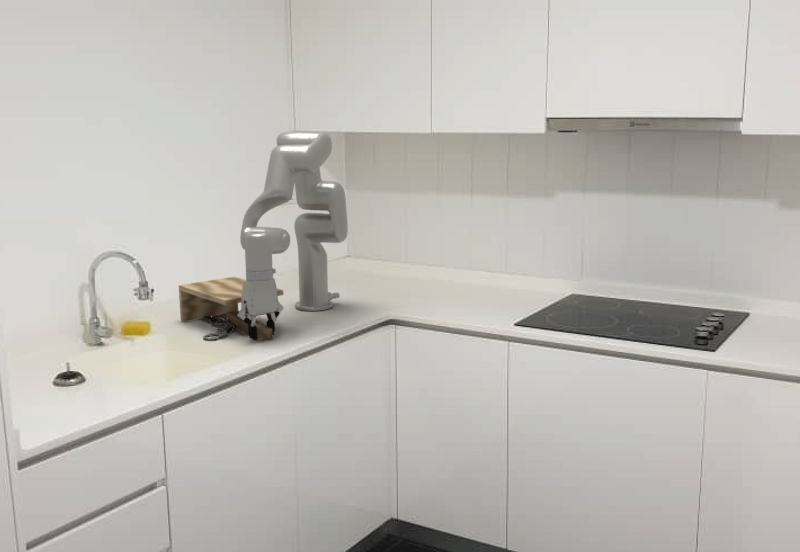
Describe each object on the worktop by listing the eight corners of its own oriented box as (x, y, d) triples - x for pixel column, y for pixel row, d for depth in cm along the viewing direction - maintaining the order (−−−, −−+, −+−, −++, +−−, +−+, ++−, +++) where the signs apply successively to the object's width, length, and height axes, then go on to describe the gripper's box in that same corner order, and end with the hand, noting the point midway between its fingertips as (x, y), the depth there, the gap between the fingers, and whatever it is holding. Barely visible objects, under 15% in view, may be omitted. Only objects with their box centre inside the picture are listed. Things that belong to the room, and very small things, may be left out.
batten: (240, 310, 259) (226, 312, 257) (272, 329, 237) (257, 331, 235) (241, 320, 260) (226, 322, 258) (272, 339, 238) (257, 342, 236)
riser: (236, 310, 273) (234, 276, 270) (284, 327, 252) (283, 290, 250) (180, 321, 260) (178, 285, 257) (226, 339, 239) (224, 300, 237)
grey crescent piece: (200, 315, 263) (231, 311, 265) (200, 319, 264) (232, 316, 266) (198, 339, 236) (234, 335, 238) (199, 344, 237) (234, 340, 239)
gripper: (277, 269, 243) (279, 328, 247) (226, 277, 232) (229, 339, 236) (291, 272, 238) (293, 333, 242) (240, 281, 227) (243, 345, 231)
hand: (261, 336), depth 239 cm, fingers closed on batten, 5 cm apart
